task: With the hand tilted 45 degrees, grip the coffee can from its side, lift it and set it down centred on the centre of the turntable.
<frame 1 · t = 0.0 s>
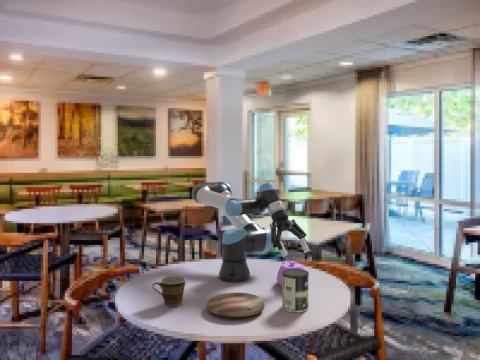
hand: (296, 254, 182), 15 cm above the table, tool tilted 35°, fingers open, 13 cm apart
teapot: (292, 286, 186), on the table
coffee can: (295, 308, 159), on the table
ceramic cup: (169, 305, 162), on the table
turntable: (235, 305, 157), point 2 cm above the table, hinge at 0.0°
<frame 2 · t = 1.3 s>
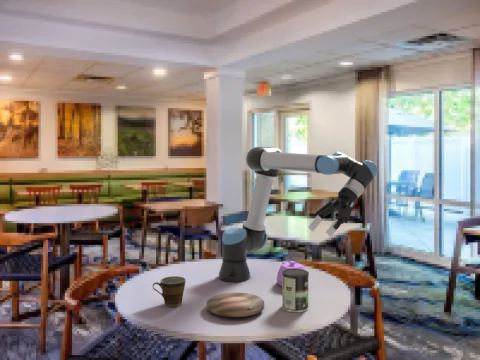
hand: (319, 231, 163), 29 cm above the table, tool tilted 45°, fingers open, 13 cm apart
nothing on the table moved.
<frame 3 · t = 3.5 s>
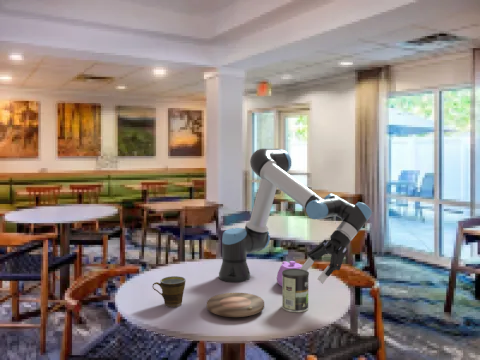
hand: (310, 276, 160), 12 cm above the table, tool tilted 45°, fingers open, 13 cm apart
nothing on the table moved.
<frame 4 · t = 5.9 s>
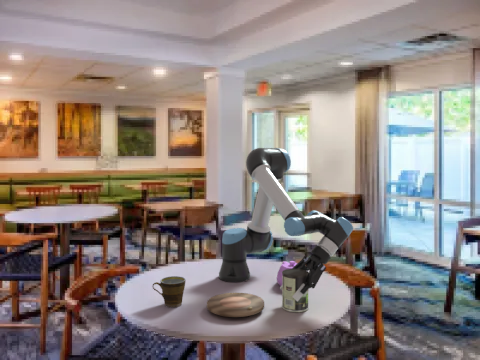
hand: (288, 294, 158), 6 cm above the table, tool tilted 45°, fingers closed on coffee can, 10 cm apart
coffee can: (295, 308, 159), on the table, touching gripper
everything else where it was.
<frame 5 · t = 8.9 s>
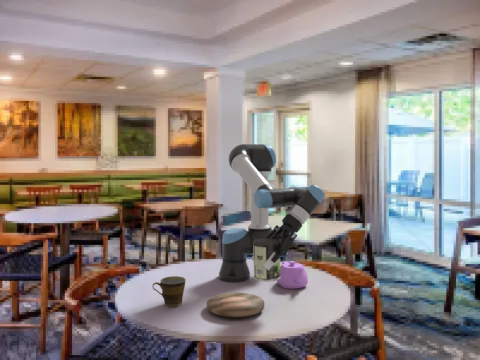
hand: (259, 264, 154), 18 cm above the table, tool tilted 45°, fingers closed on coffee can, 10 cm apart
coffee can: (267, 277, 155), point 13 cm above the table, touching gripper
everything else where it was.
when the fingers open (10 cm above the table, at t = 11.9 s): coffee can drops 1 cm, resting on turntable.
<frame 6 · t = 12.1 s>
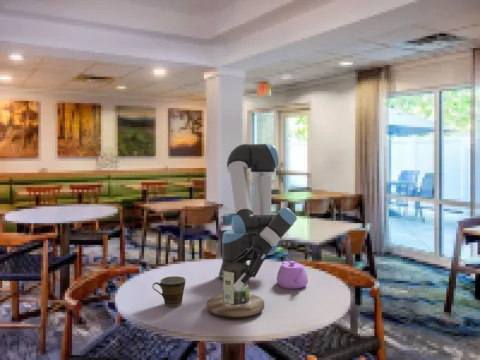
hand: (229, 283, 155), 11 cm above the table, tool tilted 45°, fingers open, 12 cm apart
coffee can: (235, 302, 156), point 3 cm above the table, touching turntable
turntable: (235, 305, 157), point 2 cm above the table, hinge at 0.0°, touching coffee can
everything else where it was.
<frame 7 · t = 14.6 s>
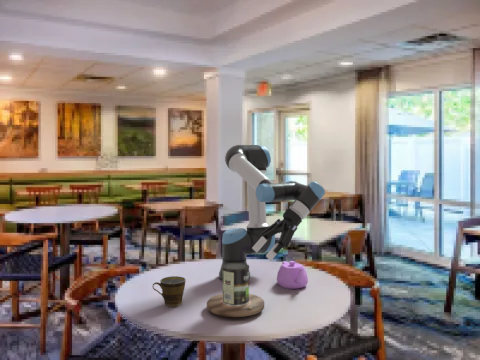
hand: (260, 254, 159), 21 cm above the table, tool tilted 45°, fingers open, 13 cm apart
nothing on the table moved.
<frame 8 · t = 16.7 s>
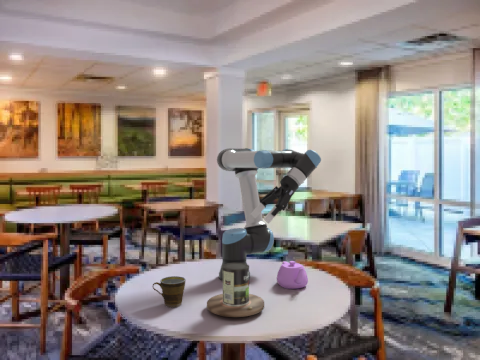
hand: (259, 218, 165), 34 cm above the table, tool tilted 45°, fingers open, 13 cm apart
nothing on the table moved.
at the end: coffee can 0.2 cm from the turntable (horizontally); coffee can touching turntable; coffee can tilted 0° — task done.
